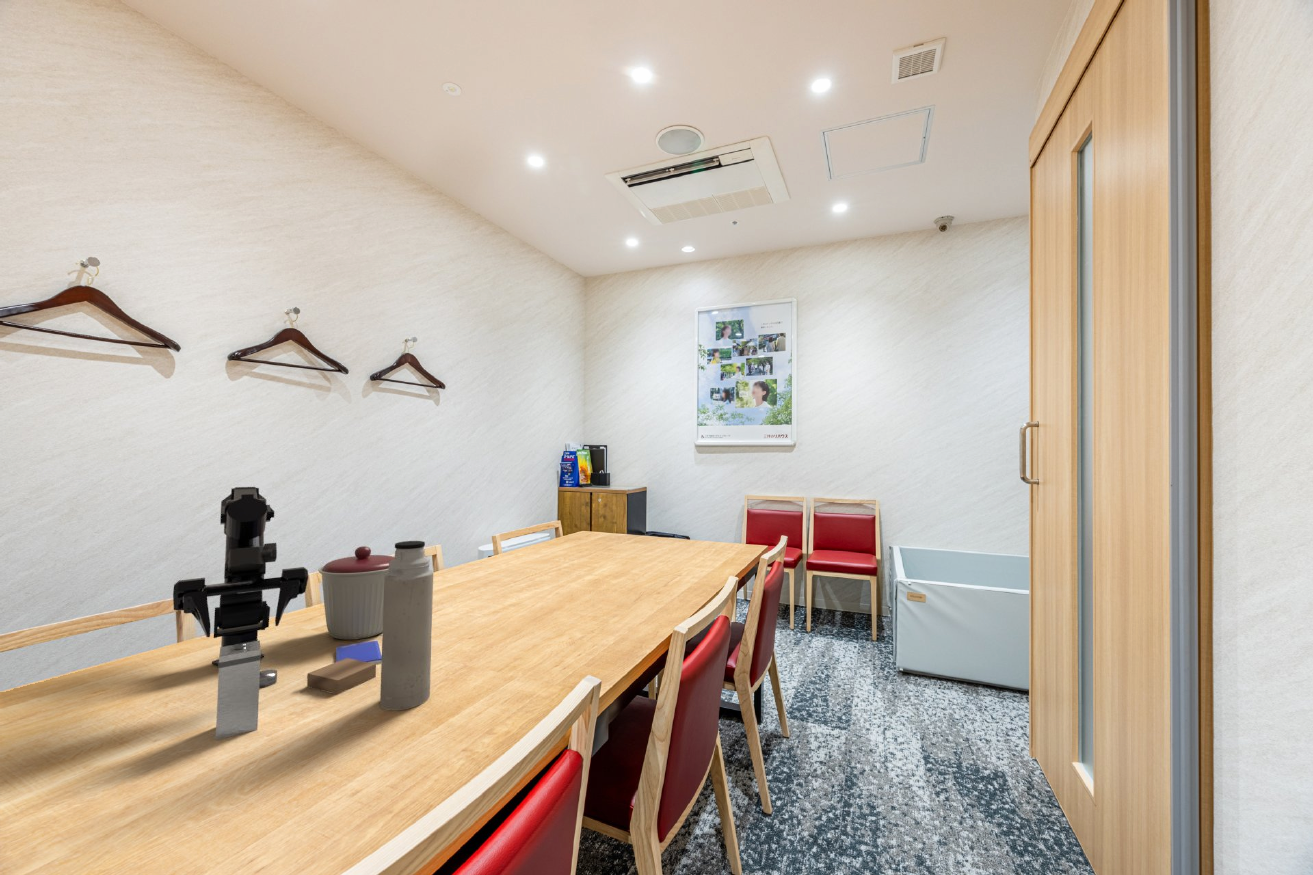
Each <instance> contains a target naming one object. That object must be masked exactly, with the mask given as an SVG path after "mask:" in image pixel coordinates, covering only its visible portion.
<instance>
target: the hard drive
mask: <svg viewBox="0 0 1313 875" xmlns="http://www.w3.org/2000/svg"><path fill="white" fill-rule="evenodd" d="M335 658H336V659H335V660H336V661H335V662H338V661H340V660H343V659H345V658H350V659H355V660H360V661H365V662H369V663H374V664H376V665H378V664H381V662H382V651H381V649H380V644H379V641H378V640H372V641H365V642H359V643H358V642H357V643H353V644H348V645H347V644H346V645H340V646H337V647H336V648H335Z"/></svg>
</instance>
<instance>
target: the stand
mask: <svg viewBox="0 0 1313 875" xmlns="http://www.w3.org/2000/svg"><path fill="white" fill-rule="evenodd" d="M376 677H377V664H374V663H369V662H365V661H360V660H355V659H350V658H345V659H343V660H340V661H338V662H336V661H335V662H333V663H330V664H328V665H326V666H323V667H320V668H318V669H315V670H313V671H310V672H308V673H307V680H306V683H307V684H306V687H307V688H310V689H313V690H319V691H323V692H327V693H330V694H335V695H339V694H341V693H344V692H346V691H348V690H350V689H352V688H354V687H357V686H359V685H361V684H363V683H365V682H367V681H370V680H372V679H374V678H376Z"/></svg>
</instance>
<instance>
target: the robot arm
mask: <svg viewBox="0 0 1313 875" xmlns="http://www.w3.org/2000/svg"><path fill="white" fill-rule="evenodd" d="M230 490H231V493H230V494H228V496H226V497H225V498H224V499H222V500H221V502H220V520H219V523H220V525H223V534H224V535H225V551H224V552H225V557H224V573H223V574H224V576H223V579H224V581H223V582H221V583H214V584H213V583H212V584H206V577H199V578H189V579H188V578H187V579H182V580H181V579H180V580H178V581H176V582H175V583H174V584H173V590H172V591H173V593H172V596H173V597H172V598H173V600H172V602H173V610H174V611H177V612H180V611H183V613H184V614H192V616H193V617H194V618H195V620H197V622H198V623H199V625H200V627H201V629H202V631H203V633H204V635H205V636H206V638H210V637H211V618H210V612H209V611H210V610H209V605H208V598H209V597H210V598H211V597H215V596H219V606H216V607H214V617H213V618H214V619H213V639H217V638H220V637H221V640H220V642H221V644H220V647H225V646H231V645H235V644H239V643H248V642H254V641H259V639H258V635H259V634H258V632H259V631H266V629H267V628H269V627H270V616H271V615H270V614H271V607H270V606H269V605H268V603H267V600H263V591H265V590H267V591H268V590H275V589H279V593H278V601H277V606H276V612H275V619H274V621H275V622H274V625H275V627H278V626H279V625H280V622H281V619H282V617H283V614H284V612H285V610H286V608H287V606H288V605H289V603H290V602H291V600H294V599H297V598H298V596H299V595H303V594H304V593H306V591H307V586H308V581H309V571H308V569H307V568H306V567H304V566H300V567H293V568H292V567H291V568H282V569H281V570H282V571H281V575H280V576H278V577H277V576H276V577H269V578H265V575H266V572H267V571H266V570H267V566H266V565H267V563H274V562H277V557H278V556H277V555H278V549H277V548H278V547H277V542H268V543H265V531H266V525H267V523H270V521H271V519H272V518H275V510H274V509H273V508H272V506H271V505H270V504H267V499H266V498H265V497H264V496H262V494H260V488H259V487H256V486H236V487H234V488H233V487H232V488H230ZM263 658H265V654H263V653H261V659H263ZM211 664H212V665H215V666H217V667H219V658H218V659H216V660H212V662H211Z"/></svg>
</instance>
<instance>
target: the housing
mask: <svg viewBox="0 0 1313 875" xmlns="http://www.w3.org/2000/svg"><path fill="white" fill-rule="evenodd" d="M219 648H220V649H219V654H218V656H219V658H218V659H219V666H217V668H218V680H217V681H218V682H217V702H216V703H217V704H216V723H215V724H216V725H215V726H216V728H215V741H219V740H223V739H227V738H230V737H233V736H234V737H235V736H238V735H242V734H245V733H249V732H250V733H251V732H254V731H257V730H258V722H259V703H260V702H259V698H260V688H259V680H260V671H261V660H262V658H261V654H262V651H261V650H262V649H261V642H260V640H259V639H258V641H254V642H248V643H239V644H235V645H231V646H225V647H221V646H220V647H219Z"/></svg>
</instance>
